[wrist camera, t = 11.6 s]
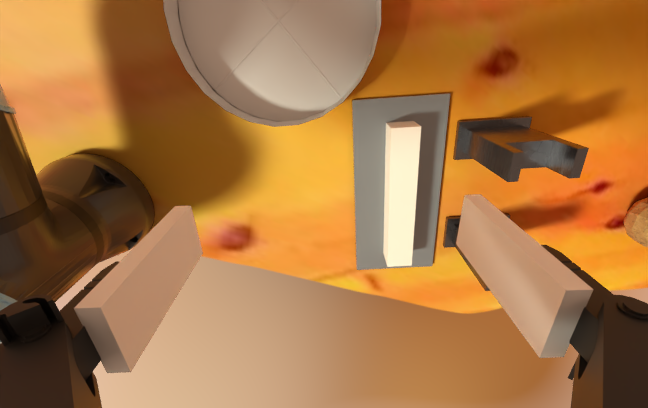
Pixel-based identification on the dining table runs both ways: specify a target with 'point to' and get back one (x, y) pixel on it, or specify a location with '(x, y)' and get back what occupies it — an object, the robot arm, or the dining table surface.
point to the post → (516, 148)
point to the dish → (275, 53)
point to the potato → (638, 222)
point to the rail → (400, 191)
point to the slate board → (371, 172)
